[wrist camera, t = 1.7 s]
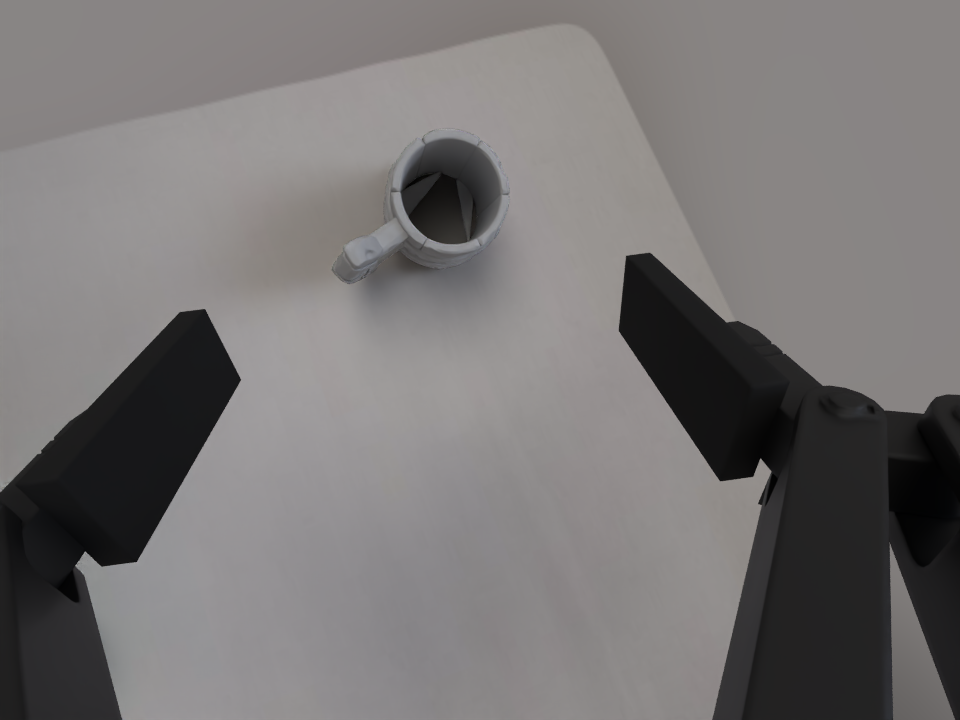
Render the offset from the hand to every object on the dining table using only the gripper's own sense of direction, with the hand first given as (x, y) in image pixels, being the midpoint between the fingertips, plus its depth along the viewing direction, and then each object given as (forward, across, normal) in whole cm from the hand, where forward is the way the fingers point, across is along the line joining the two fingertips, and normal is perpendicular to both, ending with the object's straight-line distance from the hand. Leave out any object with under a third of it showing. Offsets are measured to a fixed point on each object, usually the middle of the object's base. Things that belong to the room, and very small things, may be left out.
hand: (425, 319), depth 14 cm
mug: (+20, -2, -4) cm, 21 cm away
